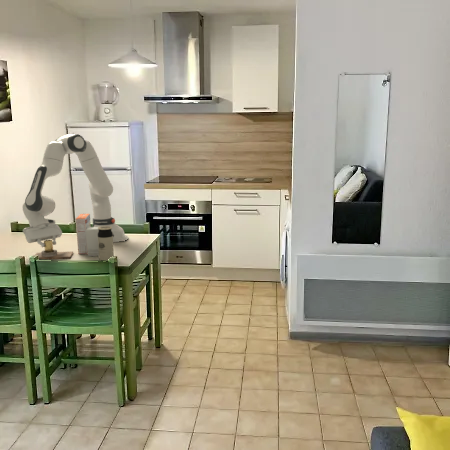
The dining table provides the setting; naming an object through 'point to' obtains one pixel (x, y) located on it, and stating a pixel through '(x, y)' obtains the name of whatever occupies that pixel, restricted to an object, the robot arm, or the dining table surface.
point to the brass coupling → (48, 246)
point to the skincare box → (92, 241)
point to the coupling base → (55, 255)
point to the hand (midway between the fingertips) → (49, 245)
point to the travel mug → (105, 242)
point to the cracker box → (82, 232)
